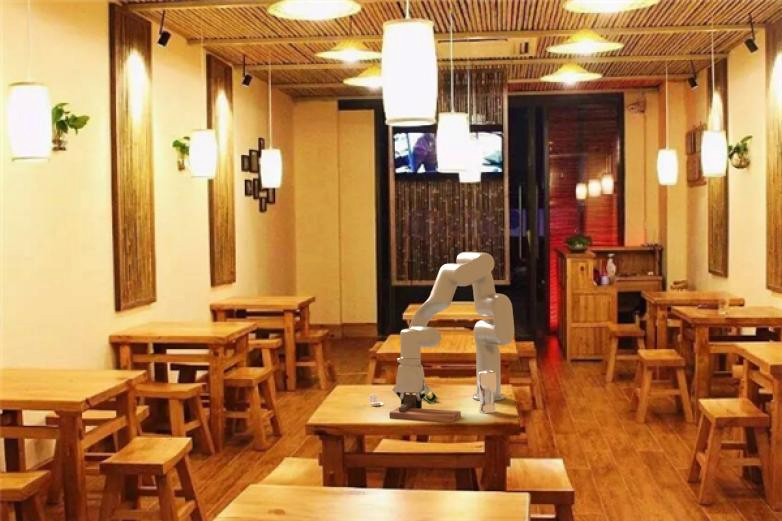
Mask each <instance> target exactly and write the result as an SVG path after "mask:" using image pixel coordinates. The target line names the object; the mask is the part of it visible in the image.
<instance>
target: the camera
mask: <svg viewBox="0 0 782 521" xmlns="http://www.w3.org/2000/svg"><path fill="white" fill-rule="evenodd" d="M403 400H404V404H401V403H400V406H399V412H405V411H406V410H408V409H409V408H416V401H417V396H416V394H414V393H406V395H404V396H403Z"/></svg>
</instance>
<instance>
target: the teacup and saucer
mask: <svg viewBox="0 0 782 521" xmlns="http://www.w3.org/2000/svg"><path fill="white" fill-rule="evenodd" d="M368 397H369V398H368V400H369V402H370V403H369V404H370V406H371V407H379V406H383V405H384V404H385V403H384V402H382V401H381V402H380V401H378V394H377V393H371V394H370V393H369V394H368ZM380 404H381V405H380Z"/></svg>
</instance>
